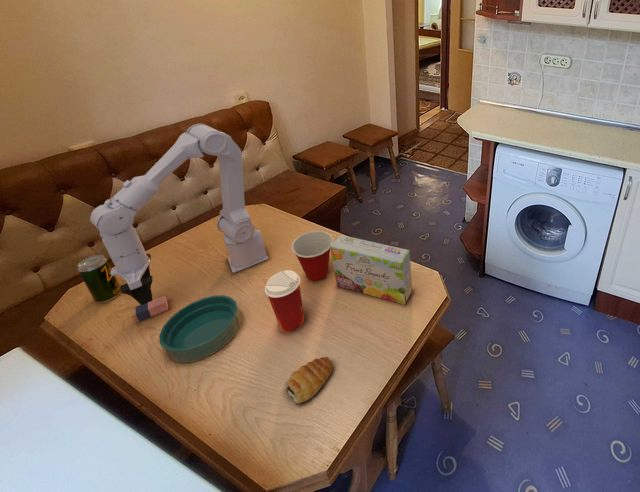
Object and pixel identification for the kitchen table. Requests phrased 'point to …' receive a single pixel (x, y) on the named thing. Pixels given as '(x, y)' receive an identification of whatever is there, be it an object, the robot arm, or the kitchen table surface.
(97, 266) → the beer can
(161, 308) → the eraser
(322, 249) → the plastic cup
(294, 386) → the pastry
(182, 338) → the bowl
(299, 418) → the kitchen table surface
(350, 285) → the snack box
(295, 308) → the paper cup
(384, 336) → the kitchen table surface
